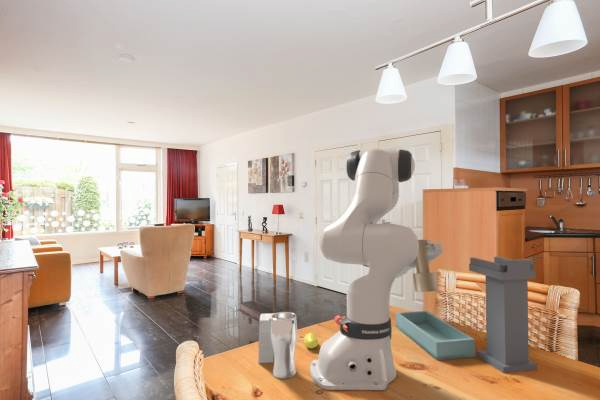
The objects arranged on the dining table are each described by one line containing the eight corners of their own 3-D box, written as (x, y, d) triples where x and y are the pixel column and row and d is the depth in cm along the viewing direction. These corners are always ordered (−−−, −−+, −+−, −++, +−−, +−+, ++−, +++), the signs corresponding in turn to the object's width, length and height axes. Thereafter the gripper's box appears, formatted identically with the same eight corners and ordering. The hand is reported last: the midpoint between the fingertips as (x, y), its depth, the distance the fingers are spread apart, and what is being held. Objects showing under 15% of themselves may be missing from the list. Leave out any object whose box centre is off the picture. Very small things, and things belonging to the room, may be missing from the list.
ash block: (415, 291, 113) (421, 292, 109) (408, 241, 117) (414, 239, 113) (431, 290, 114) (438, 291, 110) (424, 240, 118) (430, 239, 114)
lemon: (316, 341, 109) (316, 329, 109) (318, 352, 101) (318, 339, 101) (303, 341, 109) (303, 329, 109) (304, 352, 101) (304, 339, 101)
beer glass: (282, 364, 93) (281, 309, 93) (302, 371, 89) (302, 314, 89) (265, 374, 88) (265, 316, 88) (286, 382, 84) (286, 322, 84)
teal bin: (436, 360, 95) (436, 342, 95) (395, 326, 120) (395, 312, 120) (475, 356, 97) (474, 339, 97) (427, 324, 122) (426, 310, 122)
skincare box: (259, 354, 100) (259, 313, 100) (275, 353, 100) (274, 312, 100) (258, 364, 93) (257, 320, 94) (274, 363, 94) (273, 319, 94)
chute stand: (503, 372, 87) (501, 261, 88) (470, 351, 100) (468, 253, 100) (537, 369, 89) (535, 259, 89) (500, 348, 102) (498, 252, 102)
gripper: (377, 250, 125) (391, 234, 113) (428, 248, 128) (447, 232, 117) (381, 266, 122) (395, 252, 110) (433, 264, 125) (452, 249, 113)
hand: (422, 242), depth 113 cm, fingers closed on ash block, 3 cm apart
